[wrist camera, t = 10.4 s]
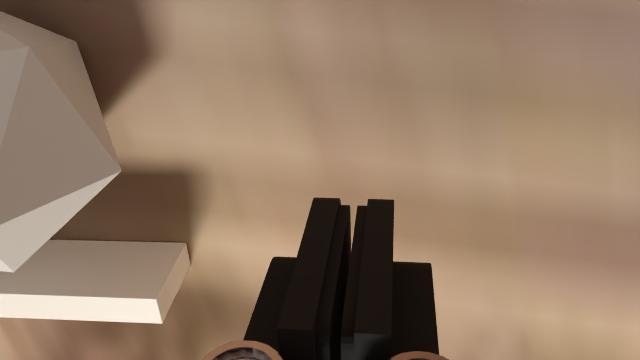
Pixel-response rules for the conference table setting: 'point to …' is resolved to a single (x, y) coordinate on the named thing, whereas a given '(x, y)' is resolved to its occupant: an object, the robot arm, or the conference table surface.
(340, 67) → the conference table surface
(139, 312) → the two-post plank stand
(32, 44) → the die
